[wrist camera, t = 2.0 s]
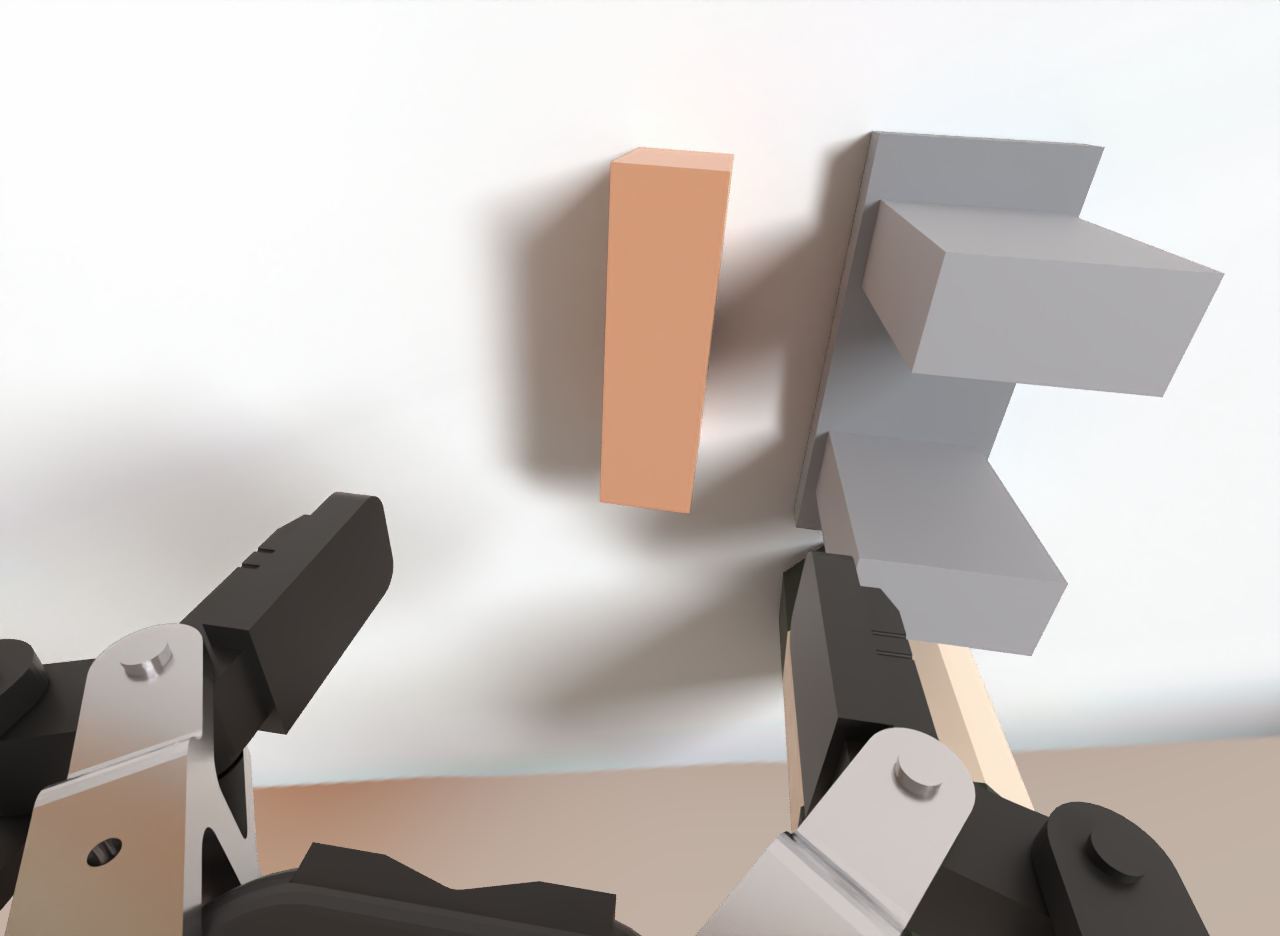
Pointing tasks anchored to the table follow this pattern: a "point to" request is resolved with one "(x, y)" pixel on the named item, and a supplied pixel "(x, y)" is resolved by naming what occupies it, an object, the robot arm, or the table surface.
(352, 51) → the table surface
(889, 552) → the stand
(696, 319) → the rectangular block
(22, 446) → the table surface
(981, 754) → the wine bottle
